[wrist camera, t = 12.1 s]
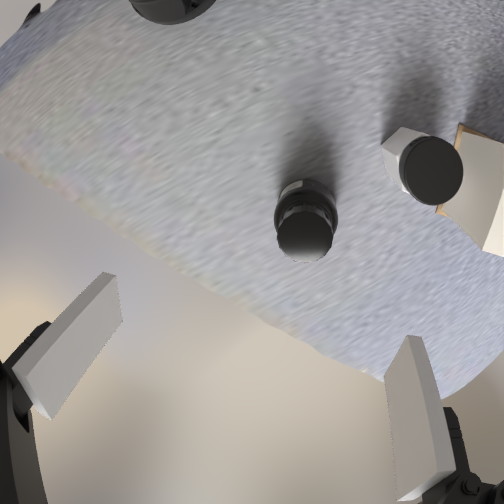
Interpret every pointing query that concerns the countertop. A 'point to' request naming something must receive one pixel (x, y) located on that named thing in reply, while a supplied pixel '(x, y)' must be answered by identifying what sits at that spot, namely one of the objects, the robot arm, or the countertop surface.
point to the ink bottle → (305, 220)
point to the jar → (423, 165)
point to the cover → (480, 193)
